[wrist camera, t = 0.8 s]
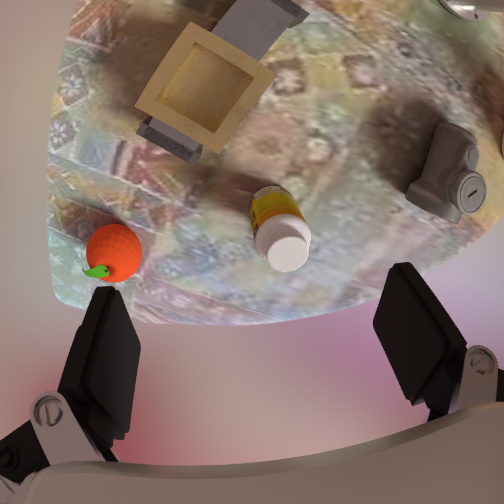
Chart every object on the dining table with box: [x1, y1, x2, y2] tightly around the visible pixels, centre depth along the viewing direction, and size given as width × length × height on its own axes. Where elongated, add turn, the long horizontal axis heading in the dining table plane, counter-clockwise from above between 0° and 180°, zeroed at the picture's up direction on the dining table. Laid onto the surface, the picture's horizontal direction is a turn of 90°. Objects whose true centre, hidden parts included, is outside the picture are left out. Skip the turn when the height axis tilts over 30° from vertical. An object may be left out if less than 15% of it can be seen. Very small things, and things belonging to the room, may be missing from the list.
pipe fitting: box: [405, 122, 486, 224], centre depth 31 cm, size 12×8×10 cm, turn 164°
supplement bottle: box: [249, 186, 311, 272], centre depth 32 cm, size 6×6×10 cm
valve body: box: [134, 0, 309, 165], centre depth 23 cm, size 18×8×8 cm, turn 145°
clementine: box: [82, 224, 142, 282], centre depth 34 cm, size 8×7×7 cm
